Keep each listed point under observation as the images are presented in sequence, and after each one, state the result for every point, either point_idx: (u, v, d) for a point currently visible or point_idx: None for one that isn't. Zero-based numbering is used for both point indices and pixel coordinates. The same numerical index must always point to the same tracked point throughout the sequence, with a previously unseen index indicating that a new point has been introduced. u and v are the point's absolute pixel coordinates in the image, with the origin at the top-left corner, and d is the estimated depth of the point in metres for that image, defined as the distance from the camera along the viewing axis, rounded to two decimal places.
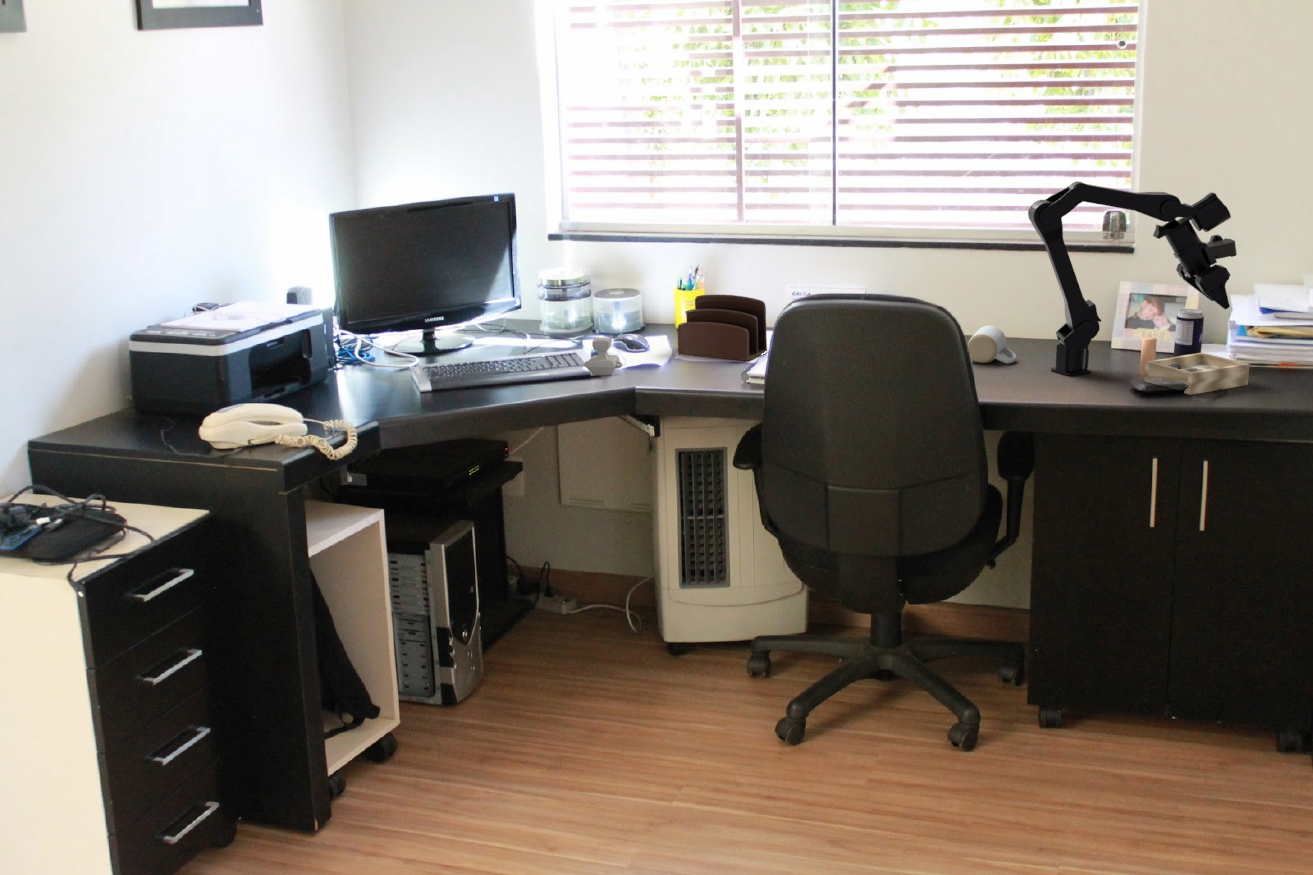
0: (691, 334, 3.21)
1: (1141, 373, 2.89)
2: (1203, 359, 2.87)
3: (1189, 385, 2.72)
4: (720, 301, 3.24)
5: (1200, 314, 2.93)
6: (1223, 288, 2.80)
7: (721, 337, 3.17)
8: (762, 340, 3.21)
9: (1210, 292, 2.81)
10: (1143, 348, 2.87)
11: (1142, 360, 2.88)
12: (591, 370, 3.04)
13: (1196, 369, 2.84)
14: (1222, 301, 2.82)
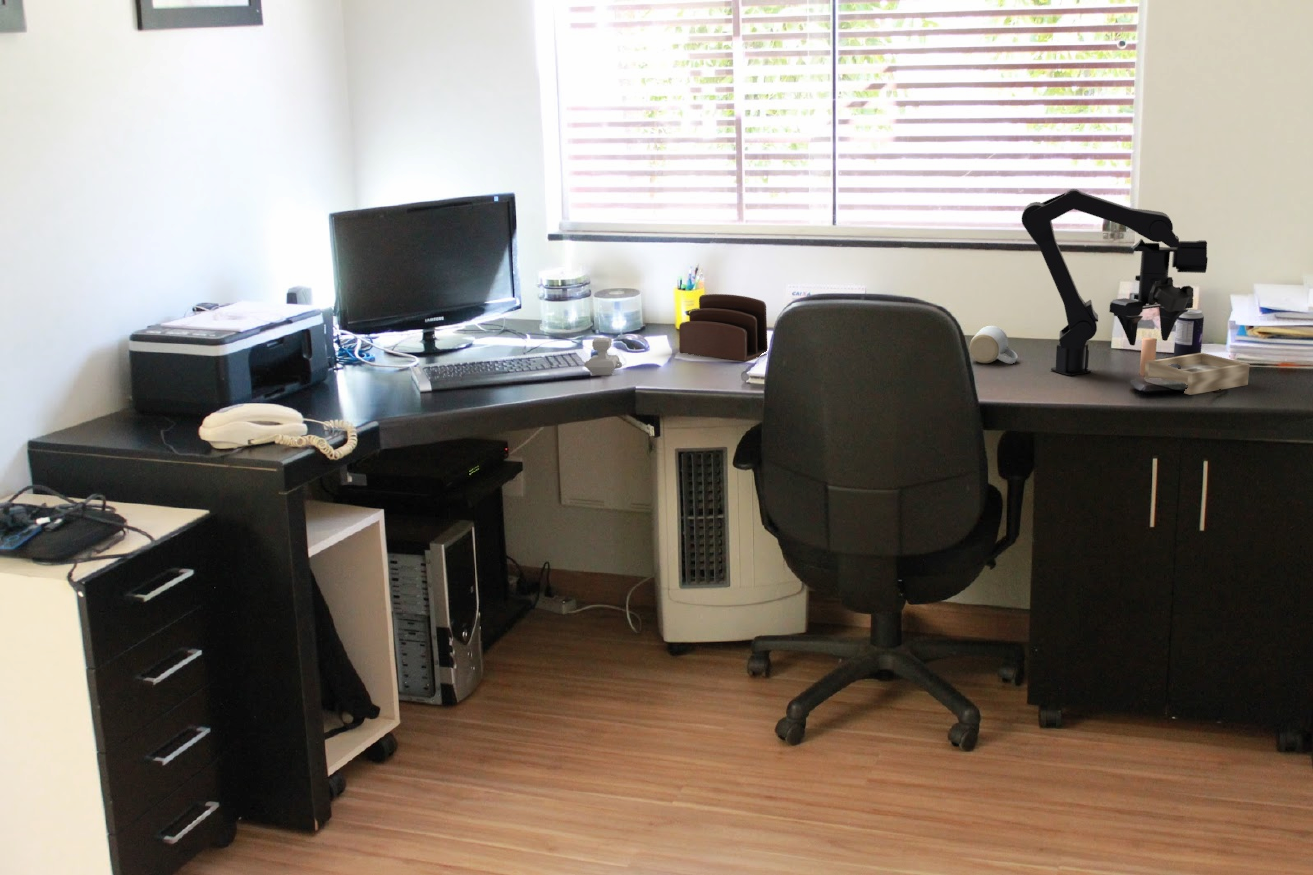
0: (691, 333, 3.22)
1: (1141, 373, 2.89)
2: (1203, 359, 2.87)
3: (1189, 385, 2.72)
4: (723, 301, 3.25)
5: (1200, 314, 2.93)
6: (1131, 325, 2.83)
7: (720, 337, 3.17)
8: (763, 341, 3.21)
9: (1122, 319, 2.85)
10: (1143, 348, 2.87)
11: (1142, 360, 2.88)
12: (591, 370, 3.04)
13: (1196, 369, 2.84)
14: (1129, 335, 2.85)
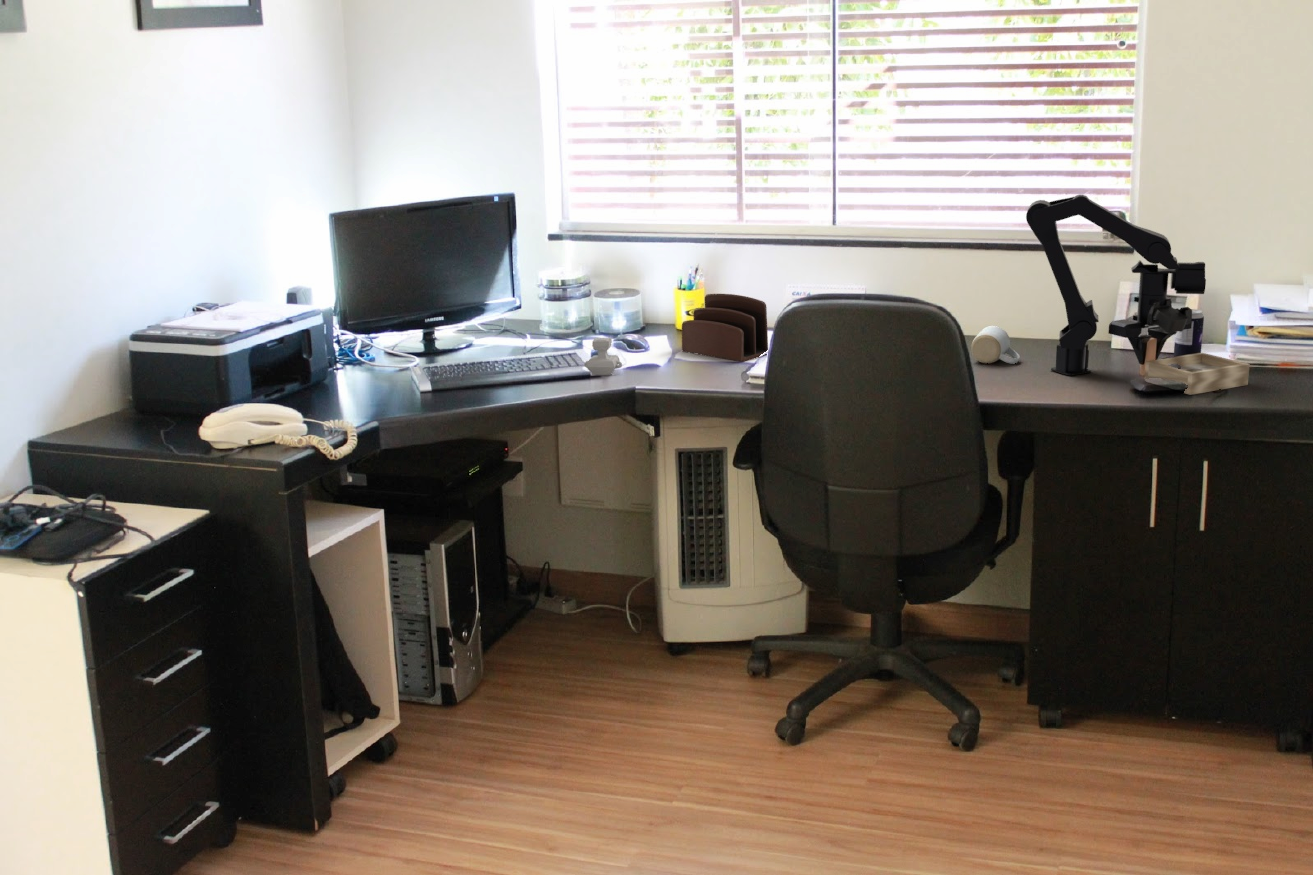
0: (693, 332, 3.23)
1: (1141, 373, 2.89)
2: (1203, 359, 2.87)
3: (1189, 385, 2.72)
4: (726, 300, 3.25)
5: (1200, 314, 2.93)
6: (1140, 344, 2.86)
7: (719, 336, 3.18)
8: (764, 341, 3.20)
9: (1131, 339, 2.88)
10: None
11: None
12: (591, 370, 3.04)
13: (1196, 369, 2.84)
14: (1138, 355, 2.88)
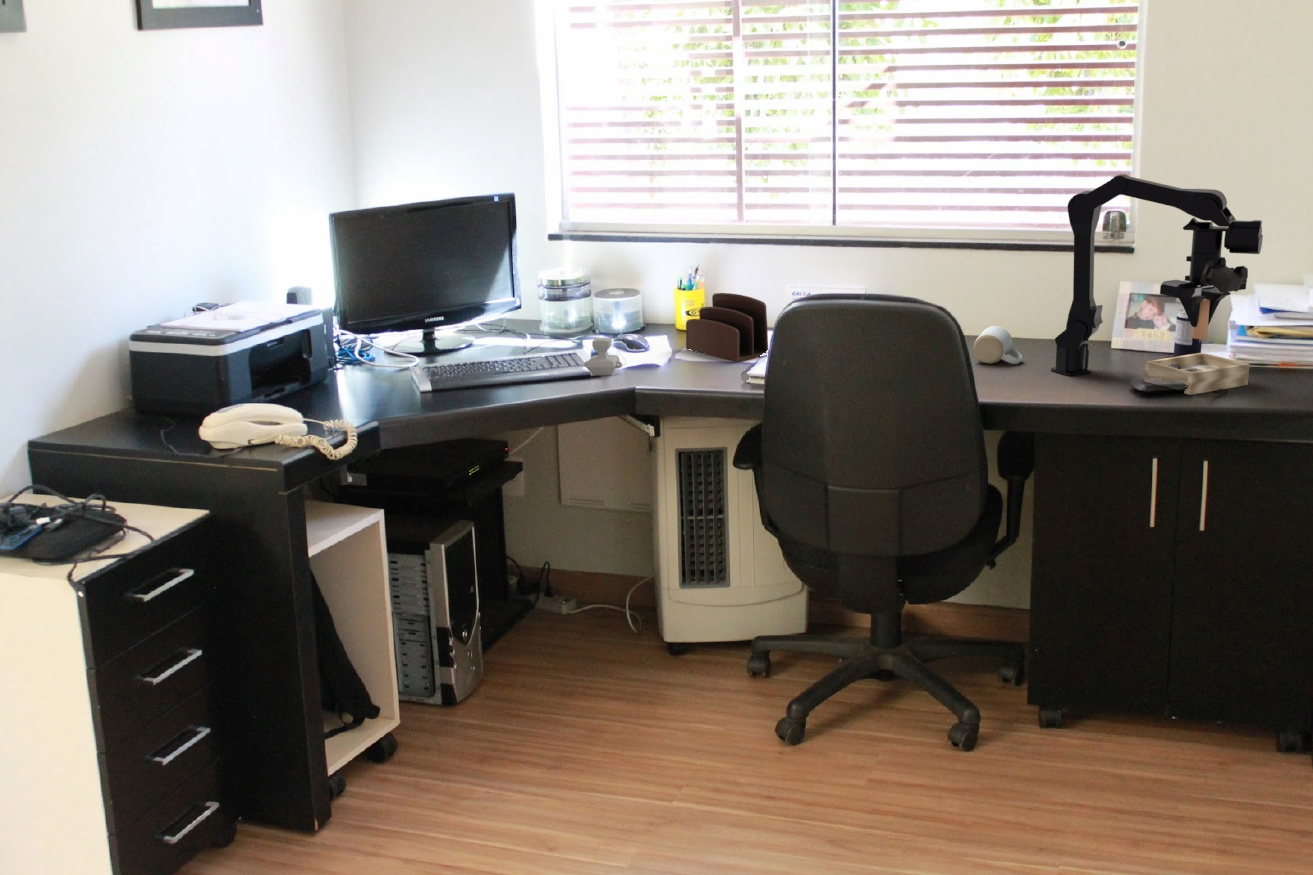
0: (695, 331, 3.25)
1: (1193, 336, 2.78)
2: (1203, 359, 2.87)
3: (1189, 385, 2.72)
4: (731, 300, 3.25)
5: None
6: (1193, 305, 2.74)
7: (718, 336, 3.18)
8: (764, 342, 3.19)
9: (1183, 300, 2.76)
10: None
11: None
12: (591, 370, 3.04)
13: (1196, 369, 2.84)
14: (1191, 317, 2.76)
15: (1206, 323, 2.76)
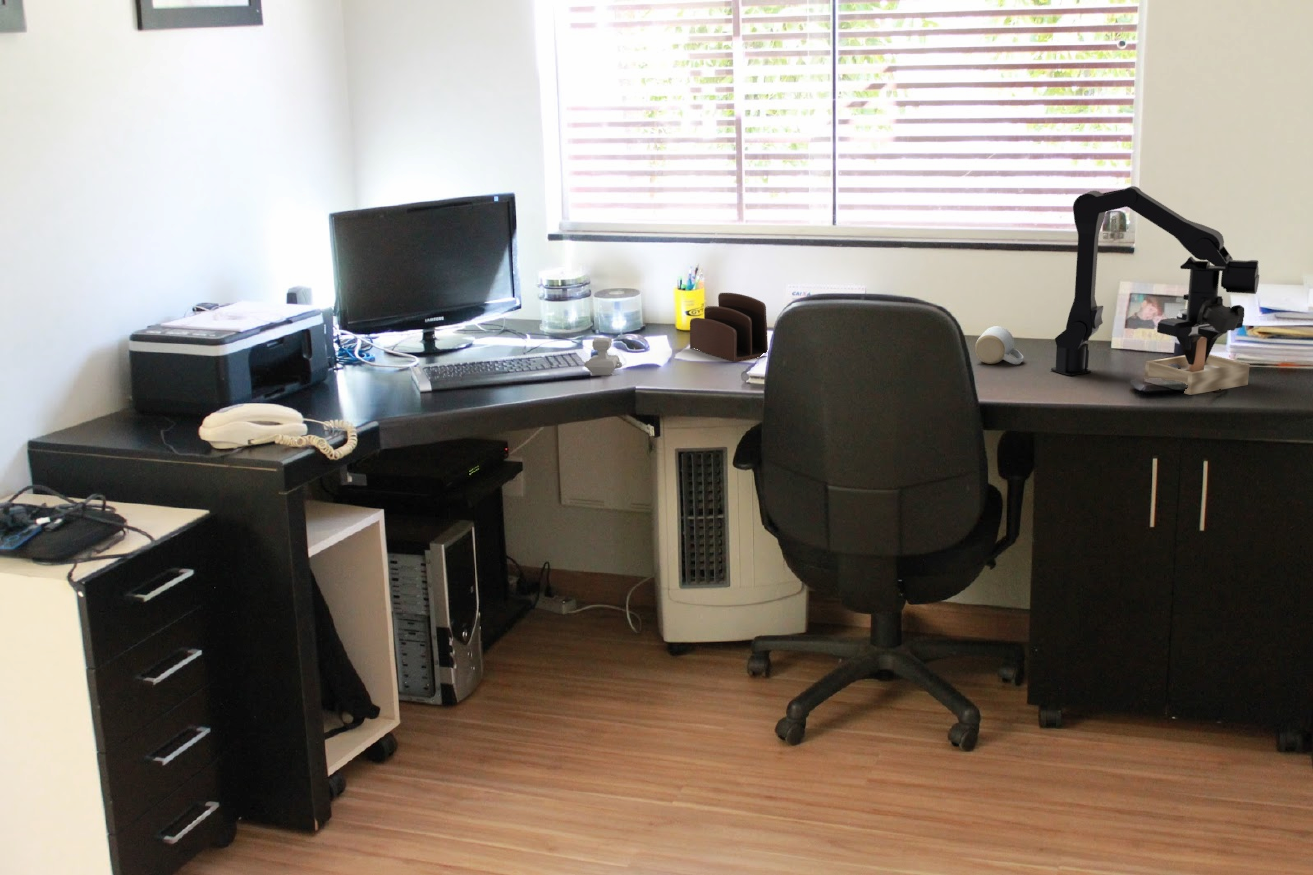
0: (698, 330, 3.26)
1: None
2: None
3: (1189, 385, 2.72)
4: (735, 300, 3.25)
5: None
6: (1190, 343, 2.76)
7: (718, 335, 3.19)
8: (764, 343, 3.19)
9: (1180, 338, 2.79)
10: None
11: None
12: (591, 370, 3.04)
13: None
14: (1188, 354, 2.79)
15: (1203, 361, 2.79)
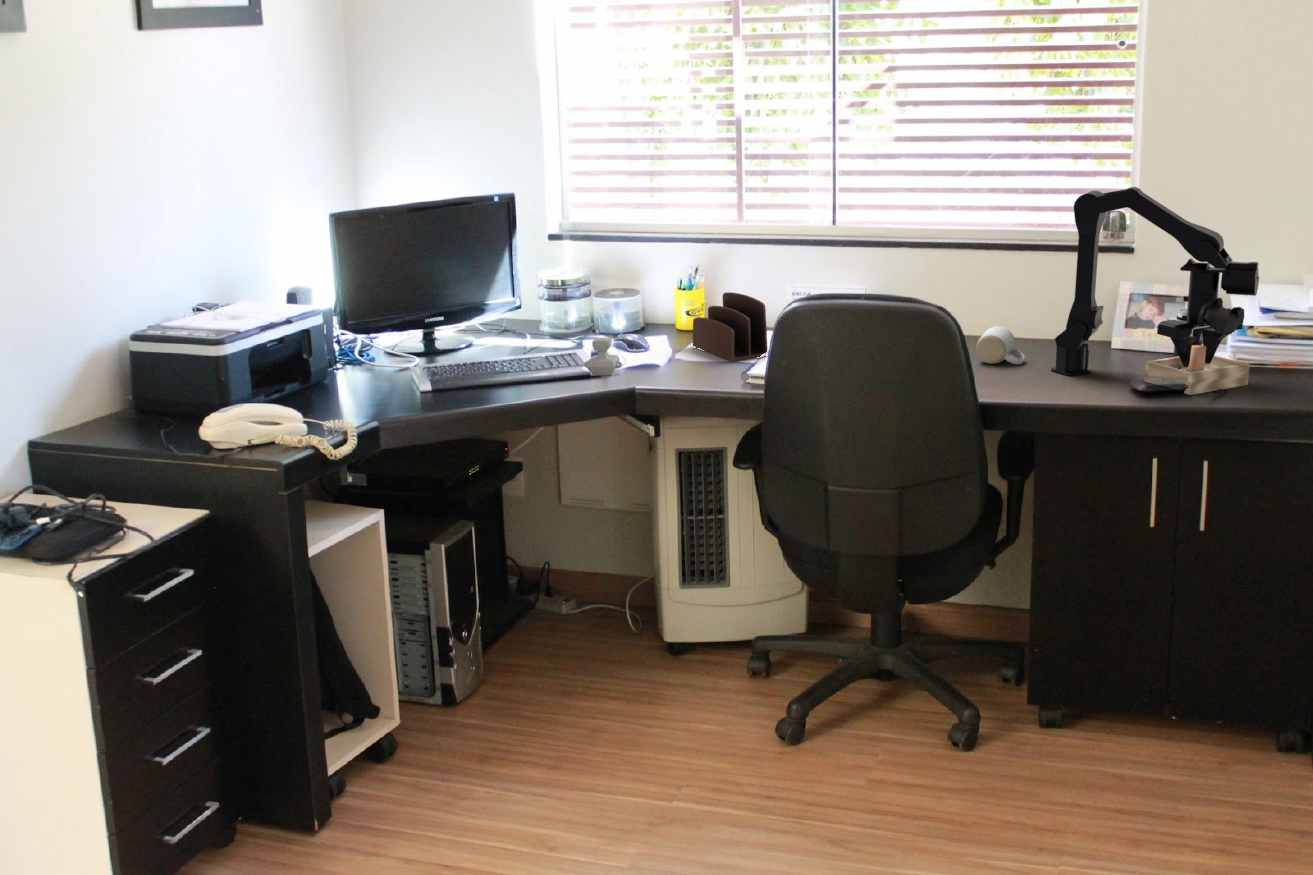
0: (700, 329, 3.26)
1: None
2: None
3: (1189, 385, 2.72)
4: (737, 300, 3.25)
5: None
6: (1185, 346, 2.76)
7: (717, 335, 3.19)
8: (763, 343, 3.18)
9: (1175, 340, 2.78)
10: (1192, 356, 2.79)
11: (1191, 368, 2.80)
12: (591, 370, 3.04)
13: None
14: (1182, 357, 2.78)
15: (1202, 369, 2.79)
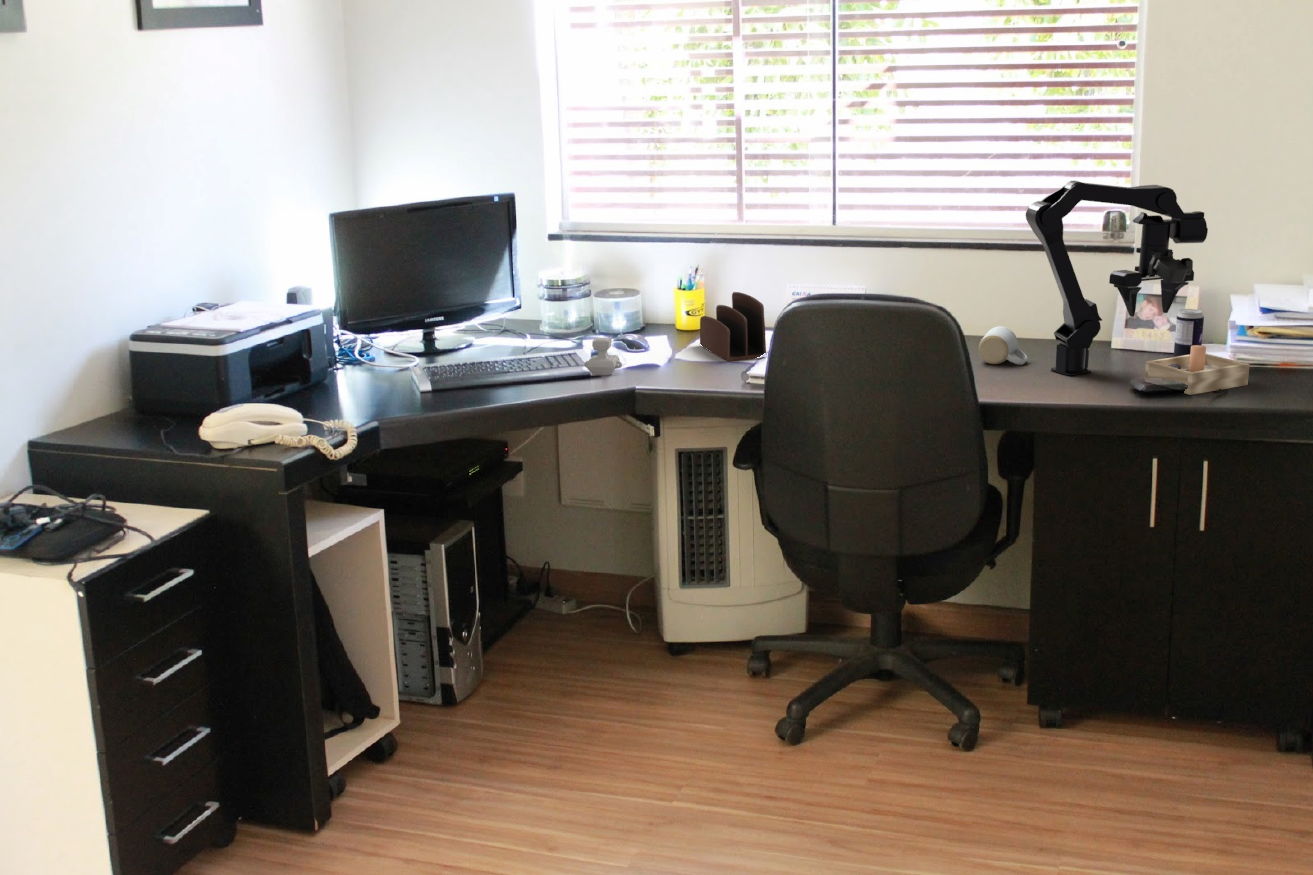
0: (705, 328, 3.28)
1: None
2: None
3: (1189, 385, 2.72)
4: (742, 300, 3.25)
5: (1200, 314, 2.93)
6: (1130, 296, 2.87)
7: (717, 334, 3.20)
8: (762, 344, 3.17)
9: (1122, 290, 2.89)
10: (1192, 356, 2.79)
11: (1191, 368, 2.80)
12: (591, 370, 3.04)
13: None
14: (1128, 307, 2.89)
15: (1202, 369, 2.79)
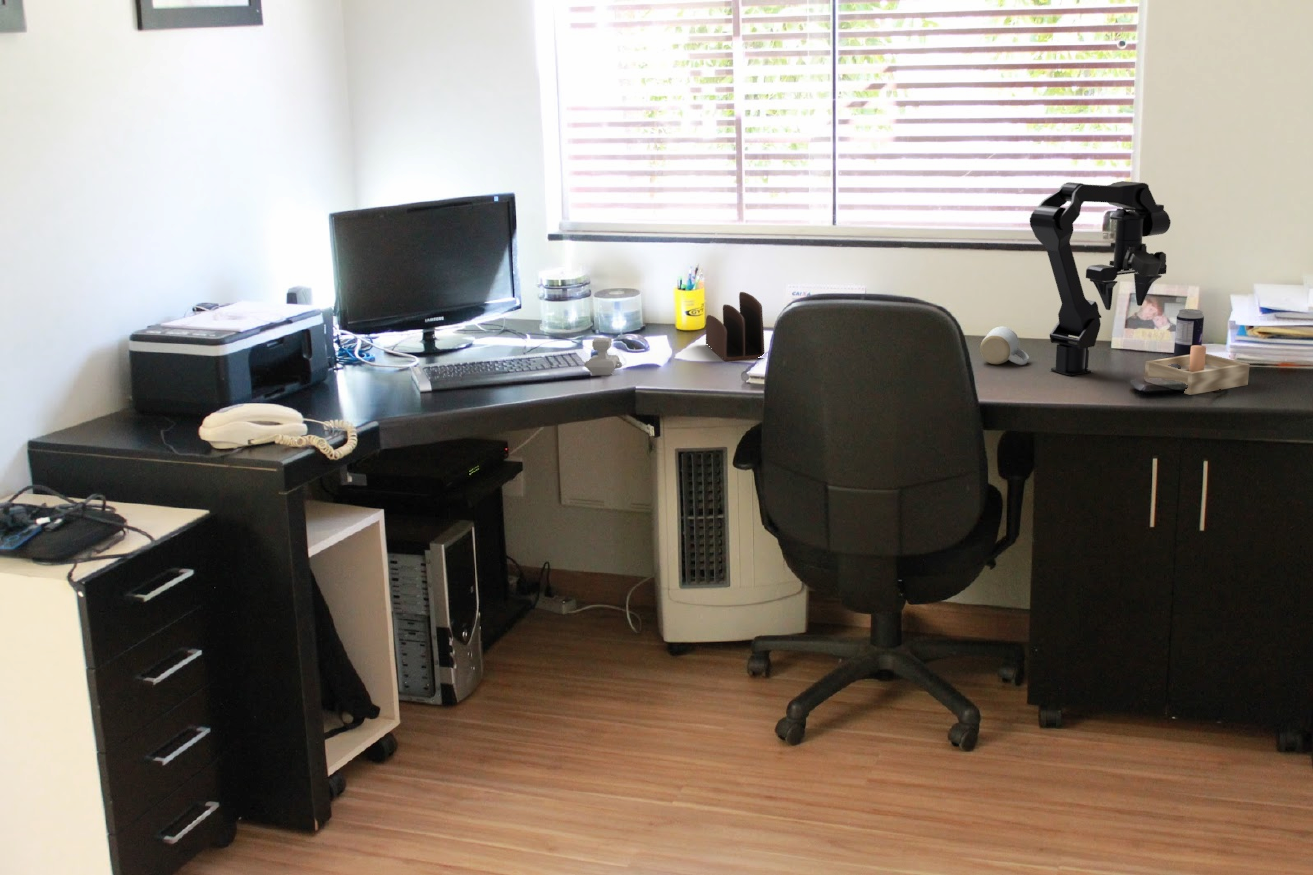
0: (709, 327, 3.29)
1: None
2: None
3: (1189, 385, 2.72)
4: (746, 300, 3.25)
5: (1200, 314, 2.93)
6: (1106, 290, 2.94)
7: (718, 334, 3.20)
8: (761, 345, 3.17)
9: (1098, 285, 2.96)
10: (1192, 356, 2.79)
11: (1191, 368, 2.80)
12: (591, 370, 3.04)
13: None
14: (1105, 300, 2.96)
15: (1202, 369, 2.79)
